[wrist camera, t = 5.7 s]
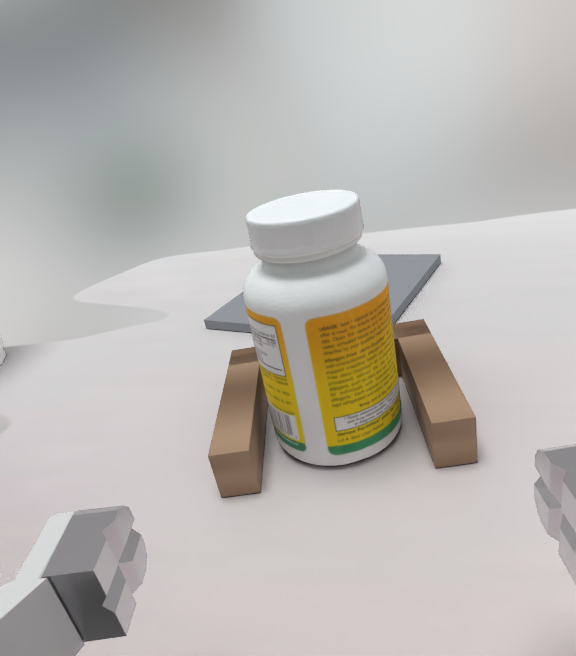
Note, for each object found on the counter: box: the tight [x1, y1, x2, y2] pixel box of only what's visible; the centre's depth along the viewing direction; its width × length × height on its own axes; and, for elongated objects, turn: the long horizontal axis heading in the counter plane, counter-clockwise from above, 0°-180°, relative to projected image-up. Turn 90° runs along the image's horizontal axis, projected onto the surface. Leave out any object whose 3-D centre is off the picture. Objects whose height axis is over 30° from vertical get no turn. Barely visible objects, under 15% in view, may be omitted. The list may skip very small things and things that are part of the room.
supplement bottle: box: [243, 190, 402, 466], centre depth 20 cm, size 5×5×10 cm
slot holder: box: [208, 319, 477, 498], centre depth 22 cm, size 8×10×2 cm
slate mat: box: [204, 254, 441, 333], centre depth 35 cm, size 12×12×1 cm
